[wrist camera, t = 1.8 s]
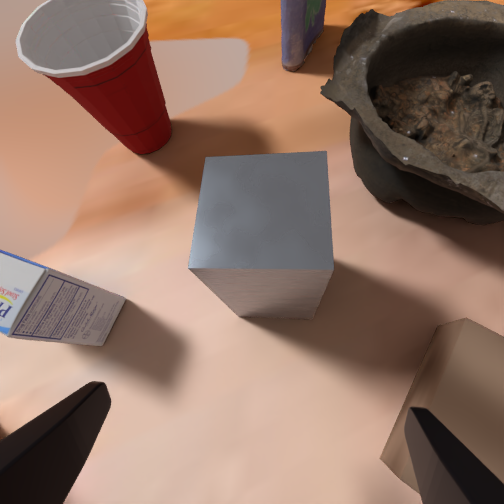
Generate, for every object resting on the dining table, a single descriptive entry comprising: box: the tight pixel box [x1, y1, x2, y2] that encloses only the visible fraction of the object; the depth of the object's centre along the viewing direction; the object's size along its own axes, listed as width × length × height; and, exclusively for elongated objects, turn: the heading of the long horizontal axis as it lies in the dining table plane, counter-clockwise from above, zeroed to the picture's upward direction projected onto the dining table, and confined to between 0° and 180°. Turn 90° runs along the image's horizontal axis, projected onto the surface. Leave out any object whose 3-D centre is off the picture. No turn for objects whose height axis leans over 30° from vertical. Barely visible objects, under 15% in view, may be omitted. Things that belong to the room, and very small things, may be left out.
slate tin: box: [188, 151, 334, 319], centre depth 18 cm, size 6×6×12 cm
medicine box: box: [0, 250, 126, 346], centre depth 21 cm, size 8×4×9 cm, turn 71°
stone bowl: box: [320, 0, 504, 224], centre depth 22 cm, size 25×25×9 cm
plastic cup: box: [16, 0, 172, 154], centre depth 27 cm, size 11×11×12 cm
